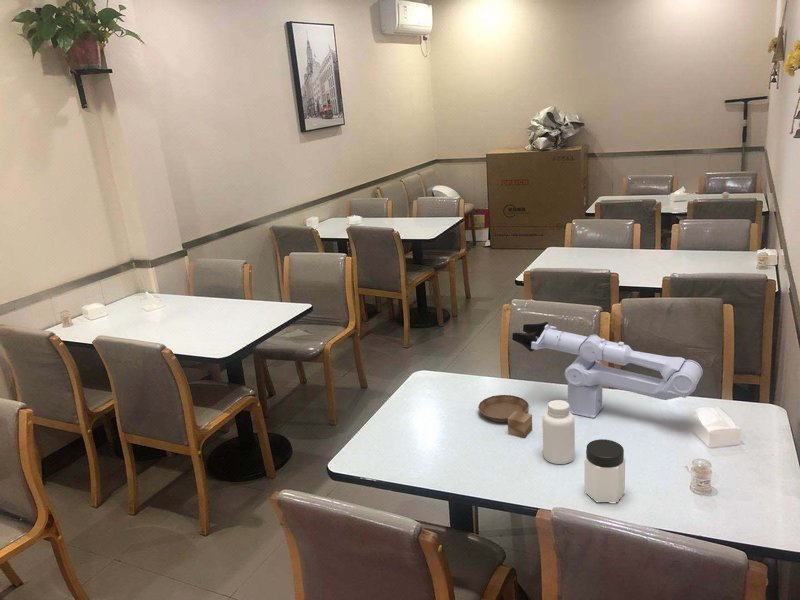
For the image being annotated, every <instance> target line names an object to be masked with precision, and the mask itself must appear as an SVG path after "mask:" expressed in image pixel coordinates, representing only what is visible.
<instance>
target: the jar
mask: <svg viewBox="0 0 800 600" xmlns="http://www.w3.org/2000/svg"><path fill="white" fill-rule="evenodd" d="M624 451H625V450H624V447H623V445H621V444H620V443H619V442H616V441H615V440H611V439H606V438H605V439H604V438H603V439H602V438H601V439H595V440H592V441H590V442H588V443H587V445H586V450H585V454H586V456H585V457H584V478H583V479H584V482H583V483H584V487H583V488H584V489H583V490H584V491H583V492H584V493H585V492H586V493H587V494H588V495H589V496H591V498H593V499H594V500H595V501H598V502H618V503H619V501H620V500H621V499H622V498H623V496H624V495H625V492H626V491H625V486H626V484H625V483H626V458H625V455H624V453H625V452H624ZM586 493H585V494H586ZM587 494H586V495H587ZM623 494H624V495H623ZM588 495H587V496H588ZM622 495H623V496H622ZM589 496H588V497H589ZM591 498H590V499H591ZM620 498H621V499H620ZM593 499H592V500H593ZM619 499H620V500H619ZM594 500H593V501H594ZM595 501H594V502H595Z"/></svg>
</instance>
